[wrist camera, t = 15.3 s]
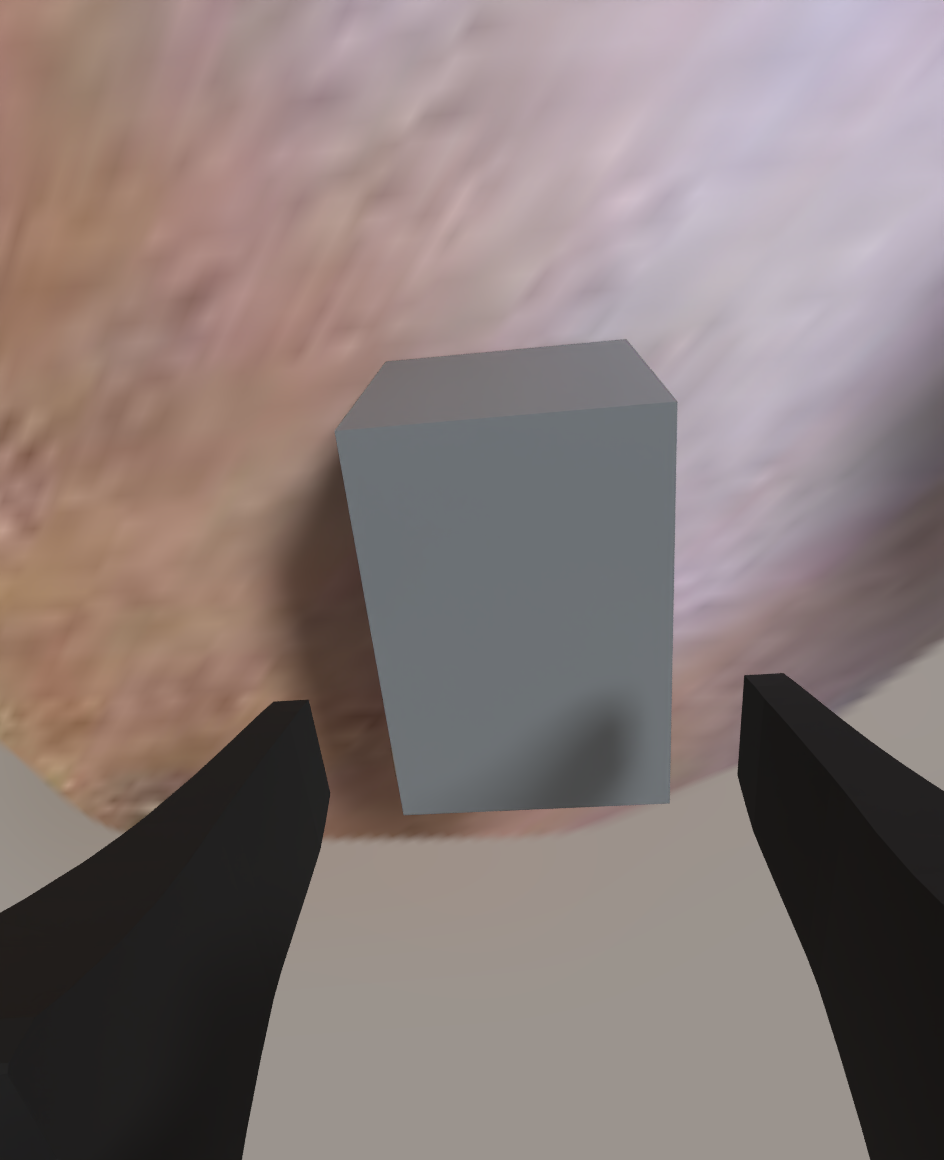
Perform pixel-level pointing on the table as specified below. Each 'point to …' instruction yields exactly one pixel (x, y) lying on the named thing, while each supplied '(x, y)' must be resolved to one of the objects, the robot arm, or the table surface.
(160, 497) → the table surface
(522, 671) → the gray block
